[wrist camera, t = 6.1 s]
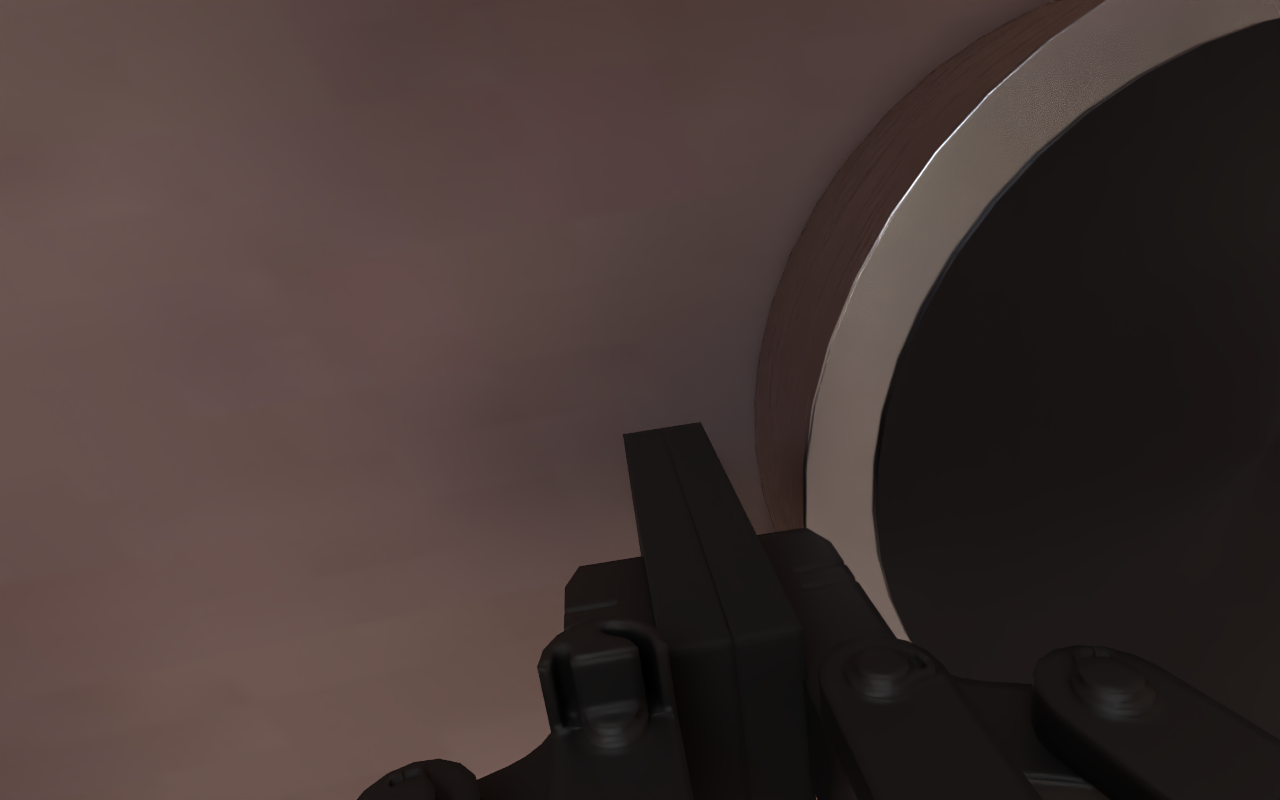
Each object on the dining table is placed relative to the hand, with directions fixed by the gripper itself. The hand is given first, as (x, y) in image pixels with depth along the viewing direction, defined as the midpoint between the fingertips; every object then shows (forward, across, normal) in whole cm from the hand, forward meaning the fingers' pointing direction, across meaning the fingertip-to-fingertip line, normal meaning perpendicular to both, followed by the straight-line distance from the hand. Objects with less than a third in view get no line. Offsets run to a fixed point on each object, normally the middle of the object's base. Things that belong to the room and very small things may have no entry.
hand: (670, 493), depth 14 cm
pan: (+1, +10, -4) cm, 11 cm away
